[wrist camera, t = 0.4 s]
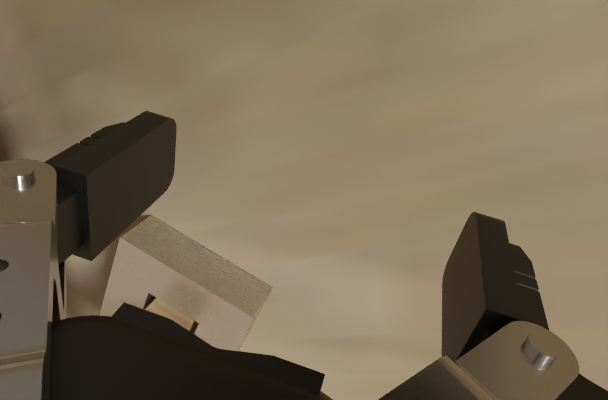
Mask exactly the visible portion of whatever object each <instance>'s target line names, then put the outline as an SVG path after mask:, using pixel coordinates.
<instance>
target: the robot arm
mask: <svg viewBox="0 0 608 400" xmlns="http://www.w3.org/2000/svg"><path fill="white" fill-rule="evenodd" d="M175 146H176V122H175V121H174V119H172V118H168V117H165V116H162V115H158V114H155V113H152V112H149V111H145V112H143V113H141V114H140V115H138V116H136V117H135V118H133V119H131V120H130V121H128V122H126V123H124V122H123V123H119V124H115V125H111V126H107V127H104V128H102V129H100V130H99V131H97V132H95V133H94V134H92V135H91V137H87V138H85V139H83V140H82V141H80V143H79V144H78V143H77V144H75V145H73V146H71V147H70V148H68V149H66V150H65V151H63V152H61V153H59V154H58V155H56V156H54V157H53V158H51V159H49V160H47V161H46V162H41V161H36V160H28V159H19V160H9V161H5V162H1V163H0V400H332V399H331V398H330V397H329V396H327V395H326V394H324V393H323V392H321V391H320V390H321V387H322V383H323V379H324V376H325V374H323V373H320V372H317V371H314V370H312V369H309V368H306V367H303V366H300V365H298V364H295V363H292V362H289V361H286V360H284V359H281V358H278V357H275V356H271V355H263V354H255V353H248V352H240V351H232V350H224V349H219V348H216V347H213V346H211V345H210V344H208V343H207V342H205V341H204V340H202V339H201V338H199V337H198V336H196V335H195V334H193V333H192V332H190V331H189V330H187V329H185V328H184V327H182V326H181V325H179V324H178V323H176V322H175V321H173V320H172V319H169V318H167V317H164V316H161V315H158V314H155V313H153V312H150V311H147V310H144V309H142V308H139V307H136V306H133V305H130V304H128V303H125V302H124V303H123V304H122V305H121V306H120V307H119V308H118V310H117V311H116V312H115V313H114V314H113V315H112V316H95V315H92V316H78V317H72V318H66V262H65V260H66V259H67V258H68V257H69V256H71V255H72V254H73V255H76V256H79V257H82V258H85V259H87V260H90V261H92V260H93V259H94V258H95V257H96V256H97V255H98V254H100V253H101V252H102V251H103V250H104V249H105V248H106V247H107V246H108V245H109V244H110V243H111V242H112V241H113V240H114V239H115V238H117V237H118V236H119V235H120V234H121V233H122V232H123V231H124V230H125V229H126V228H127V227H128V226H129V225H130V224H131V223H132V222H134V221H135V220H136V219H137V218H138V217H139V216H140V215H141V214H142V213H143V212H144V211H145V210H146V209H147V208H148V207H149V206H151V205H152V204H153V203H154V202H155V201H156V200H157V199H158V198H159V197H160V196H161V195H162V194H163V193H164V192H165V191H166V190H167V189H168V187H169V185H170V183H171V181H172V178H173V174H174V164H175ZM379 400H608V391H607V390H605V389H603V388H601V387H600V386H598V385H596V384H594V383H593V382H591V381H589V380H588V379H586V378H585V377H583V376H582V375H580V374H579V365H578V361H577V359H576V357H575V355H574V353H573V352H572V350H571V349H570V348H569V347H568V345H567V344H566V343H565V342H564V341H563V340H561V339H560V338H559V337H558V336H557V335H555V334H554V333H552V332H551V331H549V328H548V324H547V320H546V316H545V312H544V308H543V304H542V300H541V296H540V293H539V292H538V285H537V281H536V280H535V273H534V269H533V265H532V262H531V261H530V259H529V258H528V257H527V255H526V254H525V253H524V251H523V250H522V249H521V248H520V246H516V245H513V244H510V243H509V241H508V236H507V231H506V226H505V222H504V221H502V220H499V219H496V218H493V217H489V216H486V215H483V214H479V213H476V212H473V213H472V214H471V215H470V216H469V218H468V220H467V222H466V224H465V226H464V228H463V230H462V232H461V234H460V237H459V239H458V241H457V243H456V245H455V247H454V249H453V251H452V253H451V255H450V257H449V260H448V262H447V265H446V268H445V271H444V275H443V283H442V357H441V358H439V359H438V360H436V361H435V362H433V363H432V364H430V365H429V366H427V367H426V368H424V369H423V370H421V371H420V372H418V373H417V374H416V375H414V376H413V377H411V378H410V379H408V380H407V381H405V382H404V383H402V384H401V385H399V386H398V387H396V388H395V389H393V390H392V391H390V392H389V393H387V394H386V395H384V396H383V397H382V398H380V399H379Z"/></svg>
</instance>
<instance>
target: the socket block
mask: <svg viewBox="0 0 608 400" xmlns="http://www.w3.org/2000/svg"><path fill="white" fill-rule="evenodd" d="M271 290H272V287H271V286H269V285H267V284H266V283H264V282H262V281H261V280H259V279H257V278H256V277H254V276H252V275H250V274H249V273H247V272H245V271H244V270H242V269H240V268H239V267H237V266H235V265H234V264H232V263H230V262H229V261H227V260H225V259H224V258H222V257H220V256H218V255H217V254H215V253H213V252H212V251H210V250H208V249H207V248H205V247H203V246H202V245H200V244H198V243H197V242H195V241H193V240H192V239H190V238H188V237H186V236H185V235H183V234H181V233H180V232H178V231H176V230H175V229H173V228H171V227H170V226H168V225H166V224H165V223H163V222H161V221H160V220H158V219H156V218H155V217H153V216H151V215H150V216H149V217H148V218H146V219H145V220H144V221H142V222H141V223H139V224H138V225H137V226H135V227H134V228H132V229H131V230H130V231H128V232H127V233H125V234H124V235H123V236H121V237H120V239H119V243H118V247H117V250H116V254H115V258H114V262H113V265H112V269H111V273H110V277H109V281H108V284H107V288H106V292H105V296H104V300H103V303H102V307H101V311H100V315H99V316H112V315H113V314H114V313H115V312H116V311H117V310H118V308H119V307H120V306H121V305H122V304H123V303H124V302H125V303H128V304H130V305H133V306H136V307H139V308H142V309H144V310H145V309H146V308H147V307H148V306H149V305H150V304H151V303H152V302H153V301H154V300H155V299H156V298H158V299H160V300H161V301H163V302H165V303H166V304H168V305H170V306H171V307H173V308H174V309H176V310H178V311H179V312H181V313H183V314H184V315H186V316H188V317H189V318H191V319H192V320H194V321H196V322H197V323H199V324H198V327H197V329H196V331H195V332H194V334H195V335H196V336H198V337H199V338H201V339H202V340H204V341H205V342H207V343H208V344H210V345H211V346H213V347H216V348H219V349H224V350H232V351H240V349H241V347H242V345H243V343H244V341H245V339H246V337H247V335H248V333H249V332H250V330H251V328H252V326H253V324H254V322H255V320H256V318H257V316H258V314H259V313H260V311H261V309H262V307H263V305H264V303H265V301H266V299H267V297H268V295H269V294H270V292H271Z"/></svg>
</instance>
